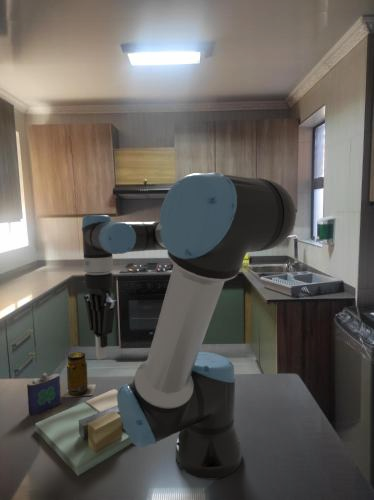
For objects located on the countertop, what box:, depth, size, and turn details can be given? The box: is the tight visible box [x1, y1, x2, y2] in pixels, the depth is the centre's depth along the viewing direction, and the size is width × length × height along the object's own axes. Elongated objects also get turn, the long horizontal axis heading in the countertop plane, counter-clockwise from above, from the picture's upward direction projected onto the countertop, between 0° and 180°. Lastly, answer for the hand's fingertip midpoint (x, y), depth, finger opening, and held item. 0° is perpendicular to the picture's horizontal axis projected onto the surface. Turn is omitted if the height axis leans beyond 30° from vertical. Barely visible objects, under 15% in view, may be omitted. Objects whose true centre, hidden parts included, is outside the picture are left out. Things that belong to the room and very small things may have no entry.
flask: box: [26, 372, 62, 418], centre depth 94 cm, size 9×3×11 cm, turn 138°
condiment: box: [63, 351, 97, 398], centre depth 104 cm, size 7×8×12 cm
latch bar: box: [79, 405, 123, 440], centre depth 83 cm, size 15×4×4 cm, turn 129°
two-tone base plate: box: [34, 388, 133, 477], centre depth 86 cm, size 22×24×8 cm
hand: (101, 357), depth 91 cm, fingers closed
